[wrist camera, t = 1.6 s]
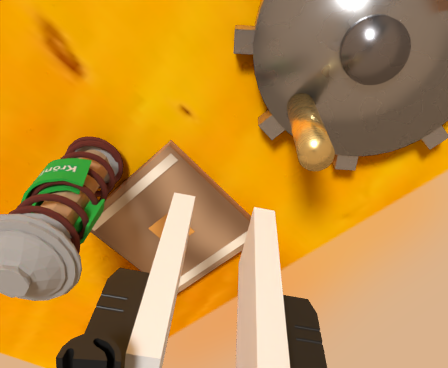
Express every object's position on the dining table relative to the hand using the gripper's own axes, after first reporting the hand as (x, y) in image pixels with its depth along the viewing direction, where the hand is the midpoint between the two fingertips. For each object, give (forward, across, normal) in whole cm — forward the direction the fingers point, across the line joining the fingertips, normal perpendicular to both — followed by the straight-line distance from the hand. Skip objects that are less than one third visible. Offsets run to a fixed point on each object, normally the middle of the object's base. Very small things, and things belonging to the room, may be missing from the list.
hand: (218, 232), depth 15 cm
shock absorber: (+19, -10, -9) cm, 23 cm away
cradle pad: (+18, -3, -14) cm, 23 cm away
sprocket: (+18, +9, +5) cm, 21 cm away
